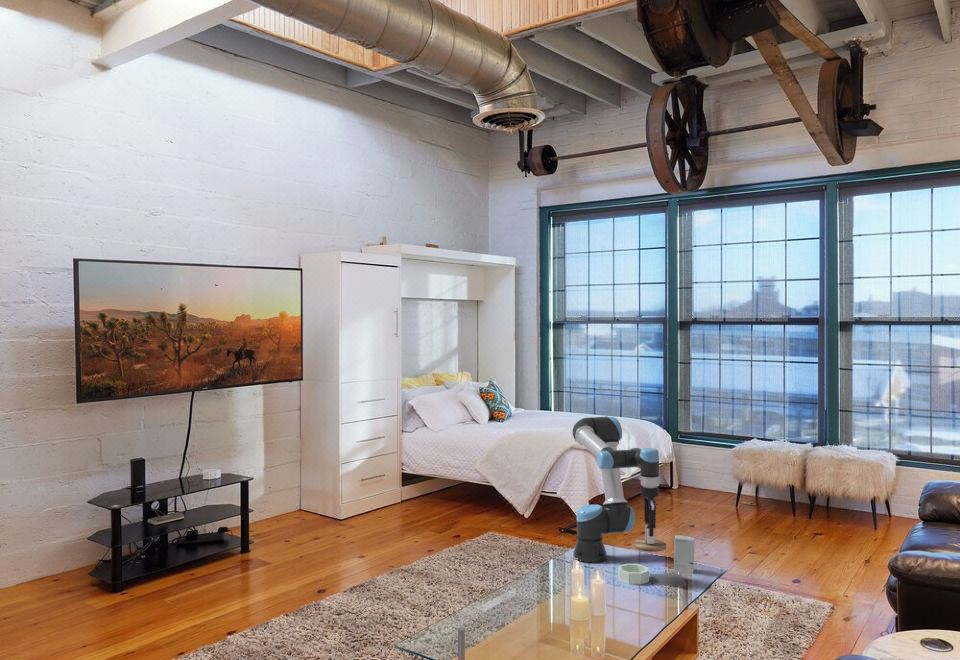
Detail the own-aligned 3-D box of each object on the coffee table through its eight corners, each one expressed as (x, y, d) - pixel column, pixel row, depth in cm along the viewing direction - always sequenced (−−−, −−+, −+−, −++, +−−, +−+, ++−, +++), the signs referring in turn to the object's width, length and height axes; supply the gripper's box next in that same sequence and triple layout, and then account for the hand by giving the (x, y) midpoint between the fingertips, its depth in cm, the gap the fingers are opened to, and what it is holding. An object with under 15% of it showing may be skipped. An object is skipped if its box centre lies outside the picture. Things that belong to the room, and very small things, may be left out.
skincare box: (673, 572, 307) (673, 538, 307) (674, 568, 312) (674, 534, 312) (694, 575, 304) (693, 539, 304) (694, 570, 310) (694, 536, 310)
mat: (649, 575, 304) (649, 574, 304) (680, 575, 303) (680, 574, 303) (654, 586, 291) (654, 584, 291) (687, 586, 290) (687, 585, 290)
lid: (631, 541, 305) (631, 520, 305) (662, 541, 304) (662, 520, 304) (637, 551, 292) (637, 529, 292) (669, 551, 291) (669, 529, 291)
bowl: (617, 575, 305) (617, 563, 305) (646, 575, 304) (646, 563, 304) (620, 585, 293) (620, 573, 293) (650, 585, 292) (650, 573, 292)
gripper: (637, 481, 306) (637, 535, 306) (644, 490, 290) (644, 548, 290) (654, 481, 306) (654, 536, 306) (663, 490, 289) (663, 548, 290)
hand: (649, 541), depth 298 cm, fingers closed on lid, 3 cm apart
